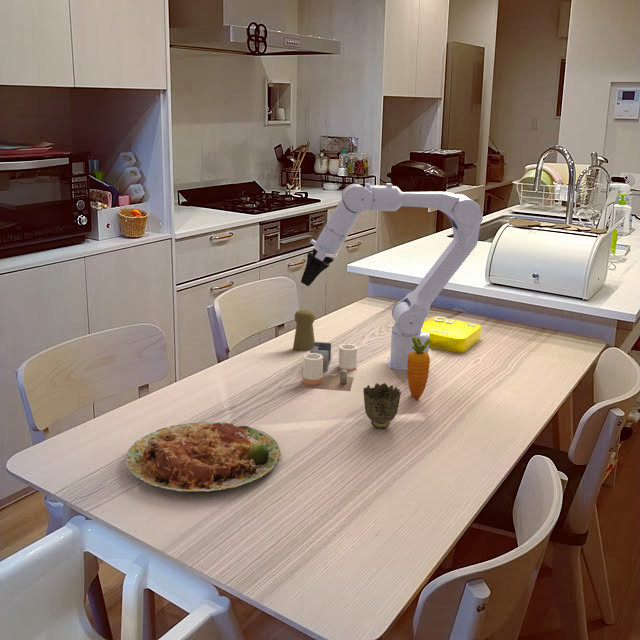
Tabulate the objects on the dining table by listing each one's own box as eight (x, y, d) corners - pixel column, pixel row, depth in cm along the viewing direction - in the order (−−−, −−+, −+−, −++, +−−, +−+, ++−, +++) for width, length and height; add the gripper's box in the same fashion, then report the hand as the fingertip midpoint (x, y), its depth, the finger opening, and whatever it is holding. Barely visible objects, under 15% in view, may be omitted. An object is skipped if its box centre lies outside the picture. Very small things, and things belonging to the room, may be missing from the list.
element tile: (410, 343, 192) (411, 327, 191) (432, 329, 204) (433, 313, 203) (462, 355, 185) (464, 337, 183) (482, 339, 197) (483, 323, 195)
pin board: (353, 381, 165) (354, 365, 164) (350, 395, 157) (350, 378, 156) (306, 378, 166) (307, 361, 165) (301, 392, 159) (301, 374, 158)
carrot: (429, 398, 157) (434, 334, 152) (423, 407, 152) (428, 341, 148) (408, 394, 159) (412, 331, 154) (401, 402, 154) (405, 338, 150)
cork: (315, 355, 181) (316, 314, 177) (291, 354, 181) (292, 313, 178) (316, 347, 187) (317, 307, 183) (293, 346, 187) (293, 306, 183)
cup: (374, 437, 139) (375, 400, 136) (355, 422, 145) (356, 386, 142) (405, 430, 142) (408, 393, 139) (385, 415, 148) (387, 380, 146)
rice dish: (195, 419, 148) (194, 395, 146) (309, 448, 134) (308, 422, 133) (92, 478, 125) (89, 450, 123) (216, 521, 111) (214, 490, 110)
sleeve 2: (357, 367, 173) (358, 344, 171) (355, 374, 168) (356, 350, 167) (339, 366, 173) (340, 343, 171) (337, 372, 169) (338, 349, 167)
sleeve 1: (320, 376, 164) (320, 352, 163) (324, 384, 160) (324, 359, 159) (301, 377, 164) (301, 353, 162) (305, 385, 159) (305, 360, 158)
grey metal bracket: (358, 367, 173) (359, 344, 172) (356, 377, 168) (357, 353, 166) (313, 364, 175) (314, 341, 173) (309, 373, 169) (310, 350, 167)
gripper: (324, 220, 171) (296, 268, 175) (317, 225, 157) (287, 277, 161) (349, 235, 171) (321, 283, 175) (344, 241, 157) (314, 293, 161)
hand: (306, 281), depth 168 cm, fingers open, 7 cm apart
